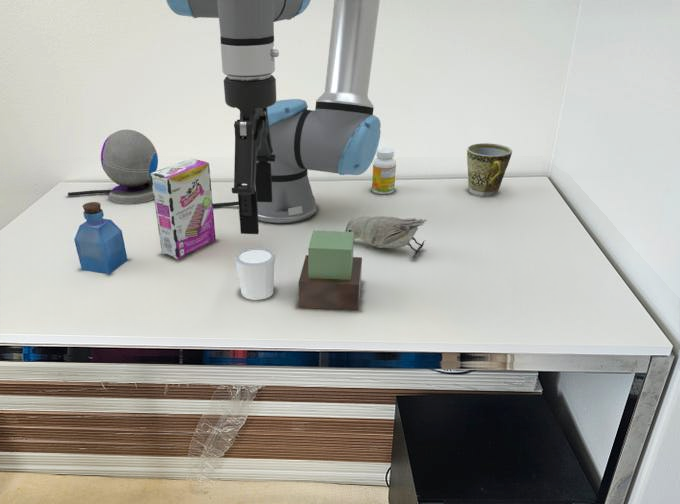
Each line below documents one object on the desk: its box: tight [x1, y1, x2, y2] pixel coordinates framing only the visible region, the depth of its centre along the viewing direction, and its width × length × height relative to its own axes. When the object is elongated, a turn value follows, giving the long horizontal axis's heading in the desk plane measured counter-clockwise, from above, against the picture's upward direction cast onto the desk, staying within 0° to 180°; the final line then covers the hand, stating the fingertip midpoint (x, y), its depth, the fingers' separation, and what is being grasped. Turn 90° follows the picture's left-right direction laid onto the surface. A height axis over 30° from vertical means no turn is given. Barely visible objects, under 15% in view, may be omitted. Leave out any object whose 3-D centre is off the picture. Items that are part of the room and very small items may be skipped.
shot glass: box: [234, 247, 276, 301], centre depth 107 cm, size 7×7×7 cm
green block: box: [307, 229, 355, 280], centre depth 103 cm, size 7×7×6 cm
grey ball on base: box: [100, 129, 159, 205], centre depth 145 cm, size 13×13×15 cm
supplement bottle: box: [371, 147, 397, 195], centre depth 146 cm, size 5×5×10 cm
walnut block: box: [298, 254, 363, 311], centre depth 106 cm, size 10×10×5 cm
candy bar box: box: [151, 158, 217, 261], centre depth 119 cm, size 11×5×16 cm, turn 145°
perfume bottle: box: [73, 201, 129, 275], centre depth 115 cm, size 6×6×12 cm
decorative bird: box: [345, 215, 427, 259], centre depth 120 cm, size 5×16×7 cm, turn 64°
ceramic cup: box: [466, 142, 513, 197], centre depth 143 cm, size 13×10×10 cm
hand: (257, 216), depth 100 cm, fingers open, 13 cm apart
